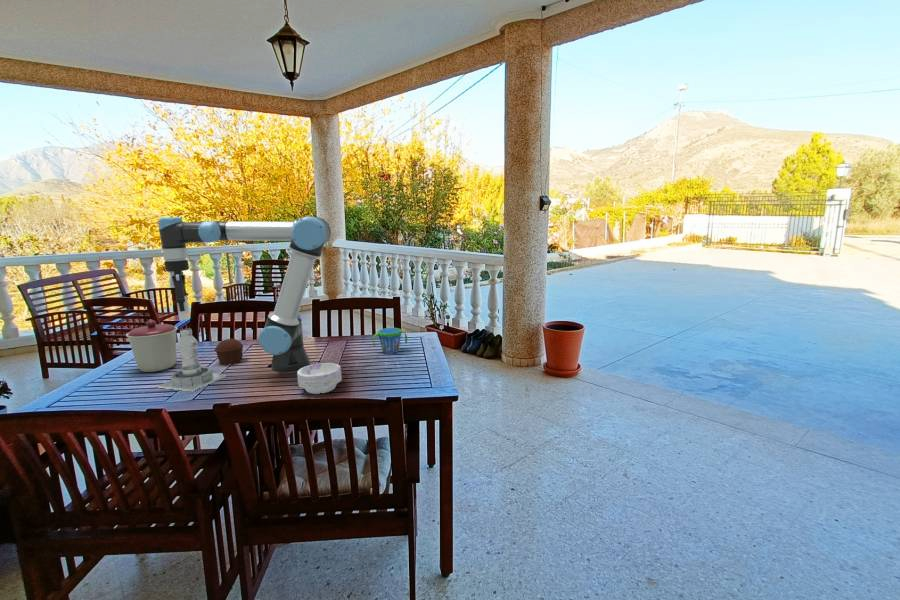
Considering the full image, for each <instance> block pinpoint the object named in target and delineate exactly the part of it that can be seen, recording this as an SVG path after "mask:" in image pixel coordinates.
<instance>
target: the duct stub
mask: <svg viewBox="0 0 900 600" xmlns="http://www.w3.org/2000/svg"><path fill="white" fill-rule="evenodd" d="M200 367H201V370H202V374H201V375H198V376H194V377H187V378H183V377H182V369H180V370H177V371H175V372H173V373H172V374H171V376H170V380H169V381H167V382H164V383H162V384H159V385H157V387H158V389H159V388H165V389H164V390H169V389H174V390H173V391H178V390H182V391H181V392H187V391H192V392H191V393H194V392H196V391H198V390H200V389H202V387H203V388H204V386H205V387H206V385H207V386H209V385H212V384H213V383H215V382H218V381H220V380H222V379H224V378H226V377H227V376H226V374H225V373H215V372H213V369H212V367H210V366H200ZM217 380H218V381H217ZM208 384H209V385H208ZM199 388H200V389H199ZM197 389H198V390H197ZM195 390H196V391H195ZM193 391H194V392H193Z"/></svg>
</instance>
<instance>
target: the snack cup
mask: <svg viewBox="0 0 900 600" xmlns="http://www.w3.org/2000/svg"><path fill="white" fill-rule="evenodd" d="M402 333H403V334H404V337H405V341H404V343H405V344H407V343H408V335H407V333H406V331H404V330H402V329H401V328H398V327H386V328H385V327H384V328H382V329H379V330H378V331H377V332H376V333H374V335H373V337H372V345H373V347H376V345H375V338H376V337H377V336H378V339H379V341H380V345H381V350H382V353H383V354H386V353H392V354H396V353H398V352H399V351H400V344H401V343H400V342H401V336H402V335H401V334H402ZM395 352H396V353H395Z"/></svg>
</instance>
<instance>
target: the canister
mask: <svg viewBox="0 0 900 600" xmlns="http://www.w3.org/2000/svg"><path fill="white" fill-rule="evenodd" d="M156 321H157V320H154V319H150V320H147V321H146V322H145V325H143V326H139V327H135V328H134V329H131V330H130V331H128V332H126V334H125V336H126V338H128V341H129V344H130V348H131V351H132V355H133V357H134V359H135V360H134V361H135V363H136V365H137V367H138V369H139V371H141V372H144V373H155V372H161V371H165V370H169V369H171V368H173V367H174V366H175V364H176V363H177V330H178V327H177V326H174V325H173V324H169V323H162V324H161V323H158V324H157V322H156Z"/></svg>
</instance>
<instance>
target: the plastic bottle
mask: <svg viewBox="0 0 900 600" xmlns="http://www.w3.org/2000/svg"><path fill="white" fill-rule="evenodd" d="M179 332H180V333H179V335H180V337H179V339H178V341H177V343H176V346H177V348H178V351H179V355H180V358H181V363H182V364H181V370H182V377H183V378H187V377H194V376H198V375H201V374H202V370H201V367H202V366H200V361H199V355H198V340H197V339H196V338H195V337H194V335H193V330H192V328H184V329H183V328H182V329H179Z"/></svg>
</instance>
